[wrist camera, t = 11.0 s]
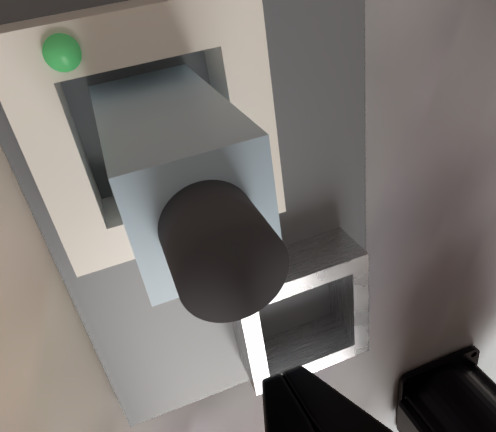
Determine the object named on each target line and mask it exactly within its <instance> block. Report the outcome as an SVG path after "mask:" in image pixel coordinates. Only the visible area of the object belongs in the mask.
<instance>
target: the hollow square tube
mask: <svg viewBox="0 0 496 432" xmlns="http://www.w3.org/2000/svg"><path fill="white" fill-rule="evenodd" d="M285 246H286V248H287V251H288V255H289V271H288V275H287V278H286V281H285V283H284V285H283V287H282V289H281V290H280V292H279V293H278V295H277V296H276V297H275V298H274V299H273V300H272V301H271V302H270V303H273V302H276V301H279V300H282V299H284V298H287V297H290V296H293V295H295V294H298V293H301V292H304V291H307V290H309V289H312V288H315V287H318V286H320V285H323V284H326V283H329V294H330V311H331V313H330V314H327V315H324V316H322V317H319V318H317V319H314V320H311V321H309V322H306V323H303V324H301V325H298V326H295V327H293V328H290V329H287V330H285V331H282V332H279V333H277V334H274V335H271V336H269V337H266V338H263V335H262V330H261V324H260V318H259V312H257V313H255V314H253V315H252V316H249V317H247V318H245V319H242V320H238V321H234V322H232V324H233V328H234V333H235V337H236V342H237V347H238V351H239V356H240V359H241V362H242V364H243V366H244V368H245V371H246V373H247V375H248V377H249V379H250V382H251V384H252V386H253V388H254V391H255V393H256V395H259V394H262V380H263V379H264V378H267V377H269V376H272V375H275V374H277V373H279V374H281V375H282V373H283V371H285V370H288V369H290V368H293V367H295V366H299V365H300V366H303V367H305V368H306V369H308V370H309V371H310V372H312V373H314V372H316V371H319V370H321V369H324V368H326V367H328V366H331V365H333V364H336V363H338V362H341V361H343V360H346V359H348V358H351V357H353V356H356V355H358V354H361V353H363V352H366V351H368V350H369V254H368V253H367V252H366V251H365V250H364V249H363V248H362V247H361V246H360V245H359V244H358V243H357V242H356V241H355V240H354V239H353V238H351V237H350V236H349V235H348V234H347V233H346V232H345V231H344V230H343V229H342V228H341V227H339V228H336V229H333V230H330V231H327V232H324V233H321V234H318V235H315V236H312V237H309V238H306V239H303V240H300V241H297V242H294V243H291V244H288V245H285ZM270 303H269V304H270Z"/></svg>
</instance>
